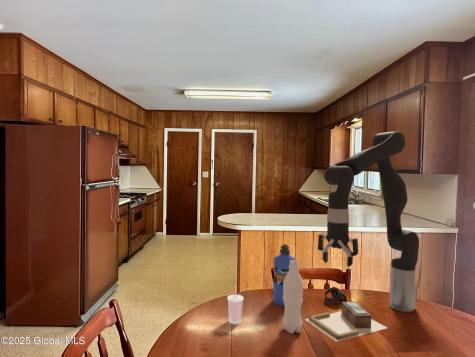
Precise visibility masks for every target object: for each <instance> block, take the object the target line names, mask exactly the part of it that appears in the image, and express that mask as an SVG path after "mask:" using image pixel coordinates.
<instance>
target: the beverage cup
mask: <svg viewBox="0 0 475 357" xmlns="http://www.w3.org/2000/svg"><path fill="white" fill-rule="evenodd" d="M234 286H235V287H234V293H233V294H229V295H227V297H226V298H227V303H228V305H227V306H228V307H227V308H228V323H229V324H233V325H238V324H240V323H241V322H242V315H243V314H242V312H243V306H244V305H243V304H244V303H243V302H244V300H245V298H244V296H243V295H241V294H237V284H234Z"/></svg>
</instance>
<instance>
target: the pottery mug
mask: <svg viewBox="0 0 475 357" xmlns="http://www.w3.org/2000/svg"><path fill="white" fill-rule="evenodd" d="M329 293H330V294H331V296H332V297H328V296H327V295H328V294H329ZM340 300H341V301H342V302H349V301H348V299H347V295H346V294H345V292H344V291H342V290H341V289H340V288H338V287H336V286H332V287H330V288H328V289H326V290H325V291H324V298H323V301H324V302H323V303H325V304H328V305H335V304H341V303H340Z"/></svg>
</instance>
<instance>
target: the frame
mask: <svg viewBox="0 0 475 357" xmlns="http://www.w3.org/2000/svg"><path fill="white" fill-rule="evenodd" d="M341 311H342V314H343V315H344V317H345V318H346V319H347V320H348V321H349V322H350V323H351V324H352V325H353V326H354V327H355V328H371V319H372V315H371V313H369V312H368V311H367V310H366V309H365V308H363V306H362V305H361V304H359V303H358V302H357V301H348V302H345V301H341Z"/></svg>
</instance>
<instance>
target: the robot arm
mask: <svg viewBox="0 0 475 357" xmlns="http://www.w3.org/2000/svg"><path fill="white" fill-rule="evenodd" d="M405 146H406V138H405V136H404V134H403V133H402V132H400V131H389V132H388V131H387V132H380V133H379V132H378V133H377V134H375V135H374V136H373V138H372V147H369V148H367V149H364V150H361V151H359V152H357V153H355V154H353V155H352V156H350V157H349V158H347V159H345V160H341V161H339V162H337V163H334V164H332V165H330V166H328V167H327V169H325V171H324V175H323V179H324V181H325V182H326V183H327V184H328V185H332V186H336V187H337V188H336V190H335V191H331V192H329V194H328V200H327V201H328V203H327V206H328V207H327V208H328V209H327V215H326V220H327V221H326V222H327V223H326V234H324V233H320V234H319V235H318V239H317V240H318V242H317V250H318V251H321V252H322V261H323V263H324V264H325V263H328V262H329V252H328V250H330V248H332V249H338V250H343V252H344V253H346V255H347V260H346V262H347V263H346V264H347V266H346V267H348V268H350V267H351V266H353V264H354V263H353V262H354V261H353V260H354V259H353V257H355V256H358V254H359V239H358V237H354V238H351V237H350V235H349V233H350V232H349V230H350V228H349V227H350V224H349V222H350V212H349V198H350V195H351V194H350V193H351V190H352V187H353V184H354V179H355V176H358V175H361V174H362V173H363V172H364V171H365V170H367V169H369V168H370V167H372V166H374V165H375V164H376V165H377V169H378V173H379V179H380V180H379V181H380V185H381V186H380V187H381V194H382V199H383V204H384V213H385V220H386V238H387V242H388V245H389V247H390V248H392V249H393V250H395V251H399V252H401V253H400V257H395V258H392V259H391V262H390V282H389V283H390V284H389V307H390V308H391V309H393V310H396V311H398V312H403V313H412V312H413V311H414V310H415V309H416V300H417V299H416V297H417V296H416V294H417V293H416V292H417V286H416V266H417V263H418V261H419V251H420V250H419V249H420V238H419V235H418V234H417V232H415V231H412V230H407V229H403V227H402V222H401V221H402V219H401V218H402V217H401V216H402V214H403V212H404V210H405V209H406V205H407V203H408V200H409V199H408V192H407V186H406V185H407V184H406V183H405V181H404V179H403V178H402V177H401V175H400V174H399V173H398V171H397V170H396V169H395V168H394V165H393V164H392V162H391V158H390V157H392V156H395V155H397V154H400V153H401V152H403V151H404V149H405ZM325 240H326V241H327V242H328V243H327V244H326V245H325V246H324V242H325ZM349 243H350V244H351V246H352V250H351V247H350V245H349Z"/></svg>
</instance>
